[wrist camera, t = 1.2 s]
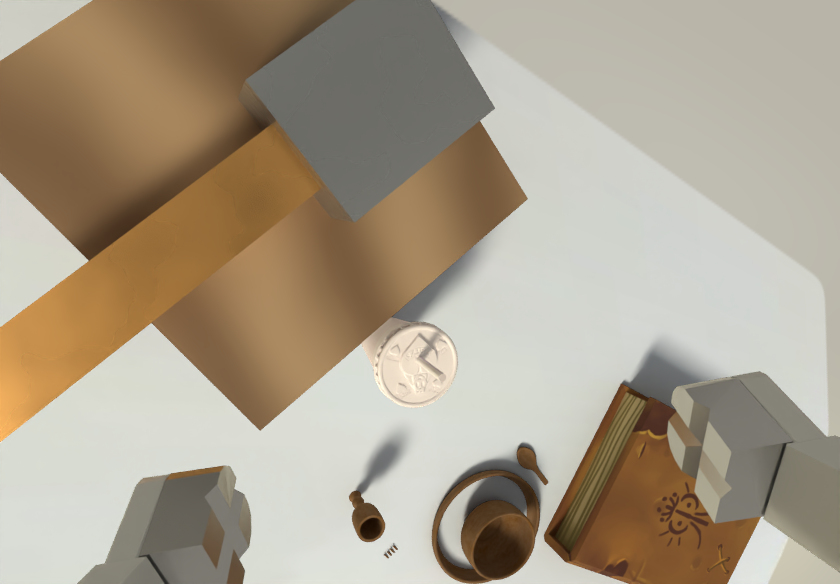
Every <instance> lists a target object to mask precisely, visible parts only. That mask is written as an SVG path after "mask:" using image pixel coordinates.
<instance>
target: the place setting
mask: <svg viewBox="0 0 840 584" xmlns="http://www.w3.org/2000/svg"><path fill="white" fill-rule="evenodd" d="M517 458H518V461H519V463H520V465H521V466H522V467H524V468H526V469H531V470H533V471H534V472H535V473H536V474H537V475H538V477H539V478H540V480H541V481H542V482H543V483H544V485H546V484H547V483H548V480H547V479H546V478H545V477H544V476H543V474H542V473H541V472H540V471H539V469H538V467H537V465H536V456H535V454H534V452H533V451H532V450H531V449H529V448H527V447H520V448H519V449H518V451H517ZM491 476H503V477H506V478H508V479H510V480H512V481H513V482H515V483H516V484H517V485H518V486H519V487H520V489H521V490H522V492H523V494H524V496H525V499H526V504H527V517H526V516H525V515H524V514H523V513H522V512H521V511H520V510H519V509H518V508H516V507H515V506H514V505H512V504H511V503H508V502H506V501H502V500H491V501H487V502H485V503H482V504H481V505H479V506H478V507H476V508H475V509H474V510H473V511H472V512H471V513H470V514H469V515H468V517H467V518H466V520H465V522H464V524H463V527H462V531H461V545H462V549H463V552H464V554H465V556H466V557H467V559H468V561H469V562H470V564H471V565H472V566H473V568H474V569H464V568H460V567H457V566H455V565H453V564H452V563H450V562H449V561H448V560H447V559H446V558H445V557H444V555H443V554H442V552H441V550H440V547H439V544H438V539H437V533H438V528H439V525H440V521H441V519H442V517H443V514H444V512H445V511H446V509H447V507H448V506H449V504H450V503H451V502H452V500H453V499H454V498H455V497H456V496H457V495H458V494H459V493H460V492H461V491H462V490H463V489H465V488H466V487H468V486H469V485H471V484H472V483H474V482H476V481H478V480H481V479H483V478H487V477H491ZM349 499H350V501H351V502H352V504H353V507H354V508H355V509H354V511H353V514H352V522H353V525H354V528H355V530H356V533H357V535H358V536H359V538H360V539H361V540H362V541H365V542H372V541H375V540H377V539H378V538H380V537H381V535H382V534H383V532H384V530H385V522H384V520H383V518H382V516H381V514H380V512H379V511H378V509H377V508H376V507H375V506H374V505H372V504H370V503H364V499H363V498H362V497H361V493H360V492H359V491H354V492H352V493H351V494H350V496H349ZM539 521H540V508H539V502H538V499H537V496H536V494H535V492H534V490H533V489H532V488H531V486H530V485H529V484H528V483H527V482H526V481H525V480H523V479H522V478H521V477H519V476H517V475H515V474H513V473H510V472H507V471H502V470H490V471H484V472H480V473H477V474H475V475H472V476H470V477H468V478H467V479H465V480H463V481H462V482H461V483H459V484H458V485H457V486H456V487H455V488H453V489H452V491H451V492H450V493H449V494H448V495H447V496H446V498H445V499H444V500H443V502H442V504H441V506H440V507H439V509H438V512H437V514H436V517H435V520H434V523H433V529H432V546H433V550H434V554H435V557H436V559H437V561H438V563H439V565H440V566H441V568H442V569H443V570H444V572H445V573H446V574H448V575H449V576H450V577H452V578H453V579H455V580H457V581H460V582H463V583H469V584H478V583H485V582H489V581H492V580H500V579H504V578H507V577H509V576H511V575H513V574H514V573H516V572H517V571H518V570H520V569H521V568H522V567H523V566H524V564H525V563H526V562H527V560H528V559H529V557H530V555H531V553H532V551H533V548H534V544H535V537H536V534H537V531H538V527H539ZM393 547H394V548H395V549H396V550H398V549H397V548H396V547H395V546H393ZM390 550H391V551H392V552H393V553H395V552H394V551H393V550H392V549H390ZM387 553H388V554H389V555H391V556H392V554H391V553H389V552H388V551H387ZM384 555H385V554H384ZM385 556H386V557H387V558H388V559H389V557H388V556H387V555H385Z"/></svg>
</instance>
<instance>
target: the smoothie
mask: <svg viewBox="0 0 840 584" xmlns="http://www.w3.org/2000/svg"><path fill="white" fill-rule="evenodd" d="M361 344H362V347H363V348H364V350H365V352H366V354H367V356H368V358H369V360H370V362H371V364H372V366H373V368H374V369H373V370H374V375H375V380H376V382H377V384H378V386H379V389H380V390H381V391H382V392H383V393H384V394H385V396H386V397H388V398H389V399H391V400H392V401H393V402H395V403H397V404H399V405H401V406H404V407H411V408H416V407H422V406H426V405H429V404H431V403H433V402H435V401H436V400H438V399H439V398H440V397H442V396H443V395H444V394H445V393H446V391H447V390H448V389H449V388H450V386H451V384H452V382H453V381H454V378H455V375H456V372H457V366H458V356H457V351H456V348H455V345H454V343H453V342H452V340H451V339H450V337H449V336H448V335H447V334H446V333H445V332H443V331H442V330H441V329H439V328H438V327H436V326H435V325H433V324H430V323H426V322H408V321H404V320H400V319H396V318H392V317H391V318H390V319H389V320H387V321H386V322H385V323H384V324H383V325H382V326H380V327H379V328H378V329H377V330H376V331H375V332H374V333H372V334H371V335H370V336H369V337H368V338H367V339H365V340H364V341H363V342H362V343H361Z"/></svg>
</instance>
